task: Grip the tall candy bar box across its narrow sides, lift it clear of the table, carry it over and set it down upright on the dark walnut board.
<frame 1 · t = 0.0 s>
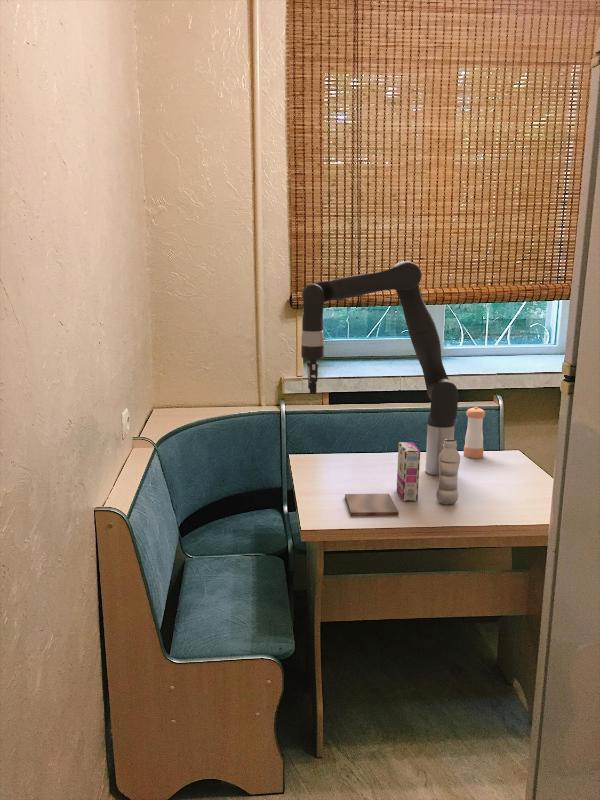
hand: (312, 391, 238), 29 cm above the table, tool pointing down, fingers open, 8 cm apart
plastic bottle: (446, 503, 216), on the table
walnut board: (370, 506, 213), on the table
pepper shaker: (473, 456, 267), on the table
candy bar box: (407, 496, 222), on the table
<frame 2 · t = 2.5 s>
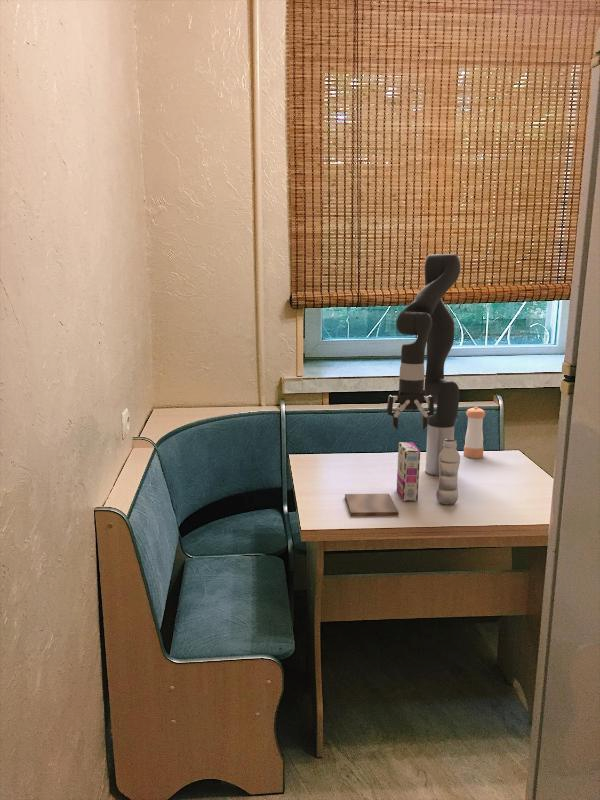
hand: (409, 428, 218), 22 cm above the table, tool pointing down, fingers open, 8 cm apart
nothing on the table moved.
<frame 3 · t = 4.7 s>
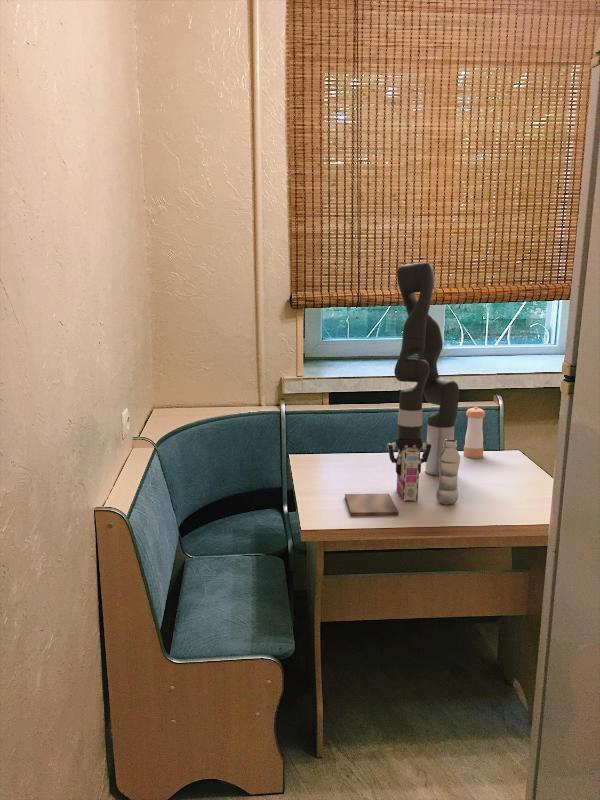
hand: (407, 474, 221), 7 cm above the table, tool pointing down, fingers closed on candy bar box, 5 cm apart
candy bar box: (407, 496, 222), on the table, touching gripper
everything else where it was.
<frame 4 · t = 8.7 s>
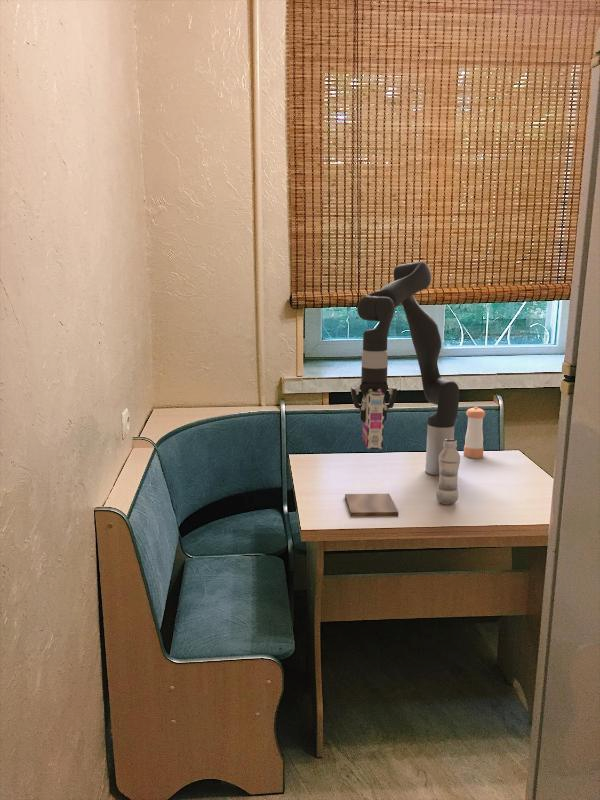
hand: (373, 421, 208), 27 cm above the table, tool pointing down, fingers closed on candy bar box, 5 cm apart
candy bar box: (372, 445, 209), point 19 cm above the table, touching gripper
everything else where it was.
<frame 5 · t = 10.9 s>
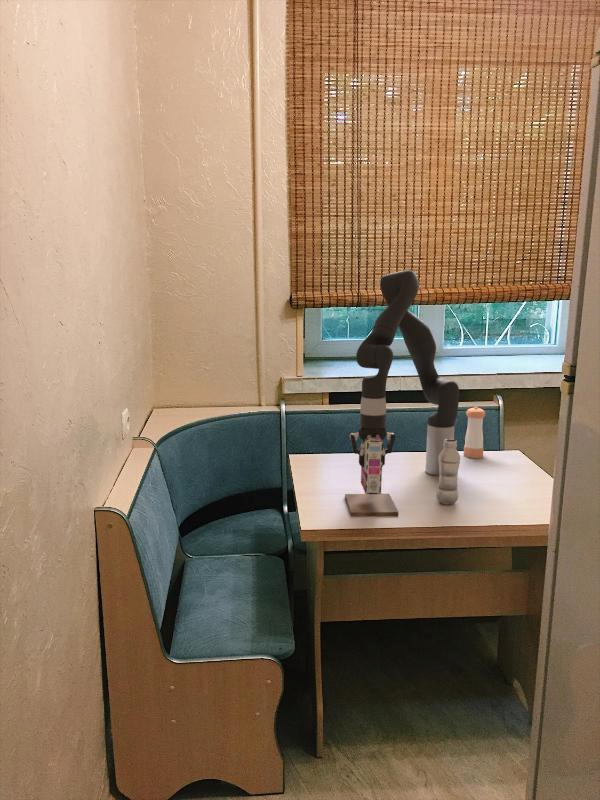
hand: (371, 466, 210), 13 cm above the table, tool pointing down, fingers closed on candy bar box, 5 cm apart
candy bar box: (371, 489, 212), point 5 cm above the table, touching gripper
everything else where it was.
when the fingers open (9 cm above the table, at t = 12.6 s): candy bar box stays where it is, resting on walnut board.
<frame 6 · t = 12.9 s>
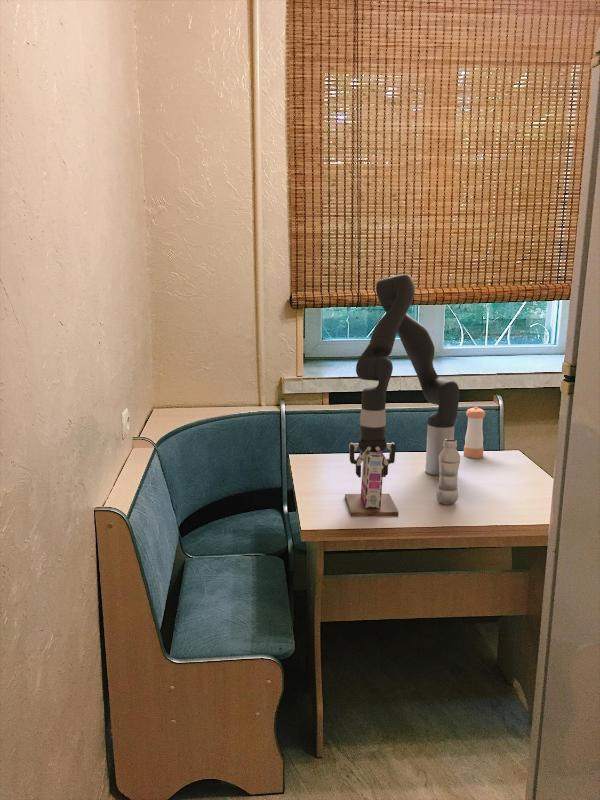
hand: (371, 476, 211), 10 cm above the table, tool pointing down, fingers open, 7 cm apart
candy bar box: (370, 502, 213), point 1 cm above the table, touching walnut board
everything else where it was.
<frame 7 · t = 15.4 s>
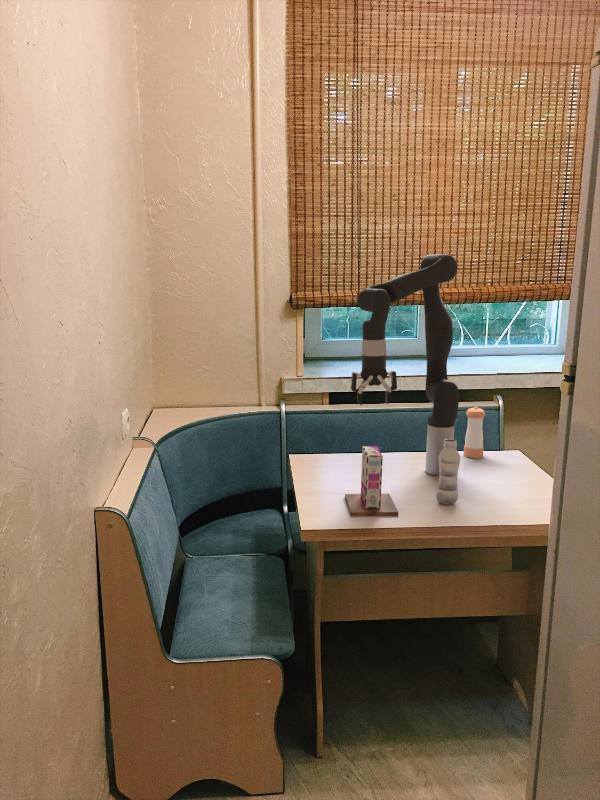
hand: (374, 403, 222), 29 cm above the table, tool pointing down, fingers open, 8 cm apart
nothing on the table moved.
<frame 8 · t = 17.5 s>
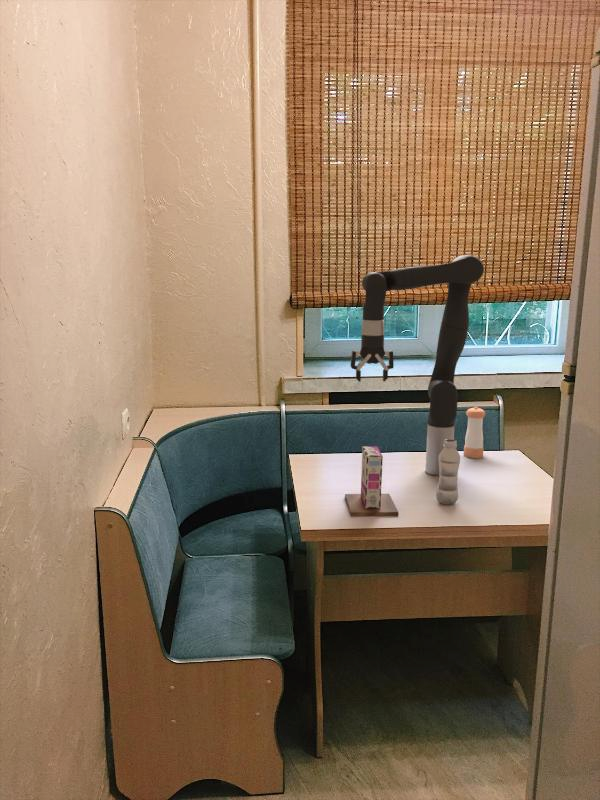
hand: (371, 381, 237), 33 cm above the table, tool pointing down, fingers open, 8 cm apart
nothing on the table moved.
at the end: candy bar box inside the target area on the walnut board (0.1 cm from its centre), point 1.0 cm above the walnut board's base; candy bar box tilted 0°; the gripper is holding nothing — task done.
